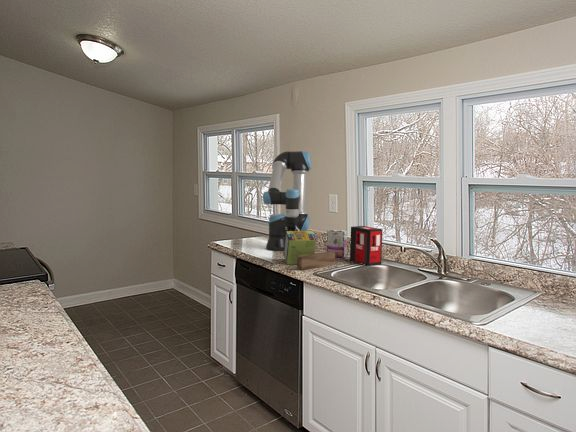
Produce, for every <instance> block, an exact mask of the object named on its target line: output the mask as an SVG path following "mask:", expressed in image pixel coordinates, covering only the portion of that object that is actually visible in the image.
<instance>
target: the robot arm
mask: <svg viewBox="0 0 576 432" xmlns="http://www.w3.org/2000/svg"><path fill="white" fill-rule="evenodd" d="M271 169H272V171H271V177H270V181H269V185H268V190H267V191H264V192H263V194H262V202H263V204H265V205H284V206H285V213H277V214H271V215H270V216H269V218H268V239H267V242H266V245H265V249H266V250H267V249H268V251H273V250H275V251H276V252H277V251H280V252H282V251H283V252H284V247H285V236H286V231H309V226H310V220H311V217H310V216H309V214H308V212H307V211H306V209H307V208H306V203H307V201H306V200H307V176H308V173H309V174H310V170H312V161H311V156H310V152H308V151H302V150H301V151H300V150H299V151H288V150H287V151H283V152H281V153H279V154H278V155H277V156H276V157H275V158H274V159H273V160H272V164H271ZM287 170H290V172H291V174H292V175H293V177H292V179H293V181H292V183H293V184H292V185H293V186H292V188H291V189H288V188H287V189H286V191H282V186H283V181H284V175H285V173H286V171H287Z"/></svg>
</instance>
